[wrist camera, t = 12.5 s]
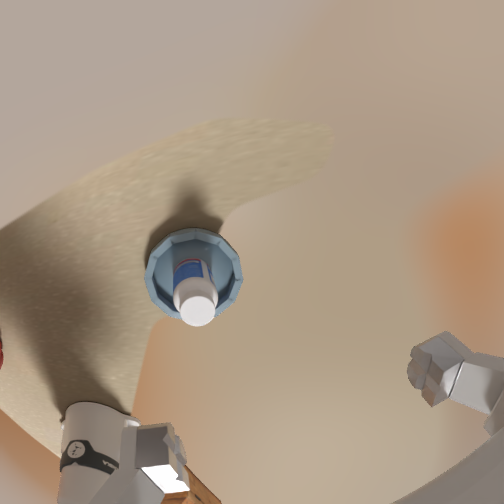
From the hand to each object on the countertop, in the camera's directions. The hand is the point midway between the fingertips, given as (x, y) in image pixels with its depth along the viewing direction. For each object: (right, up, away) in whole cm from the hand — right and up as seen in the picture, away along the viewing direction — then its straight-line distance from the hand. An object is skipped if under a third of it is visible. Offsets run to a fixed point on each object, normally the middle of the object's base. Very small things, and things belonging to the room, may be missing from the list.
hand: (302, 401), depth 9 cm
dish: (-10, +2, +34) cm, 36 cm away
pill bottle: (-10, +1, +34) cm, 35 cm away
